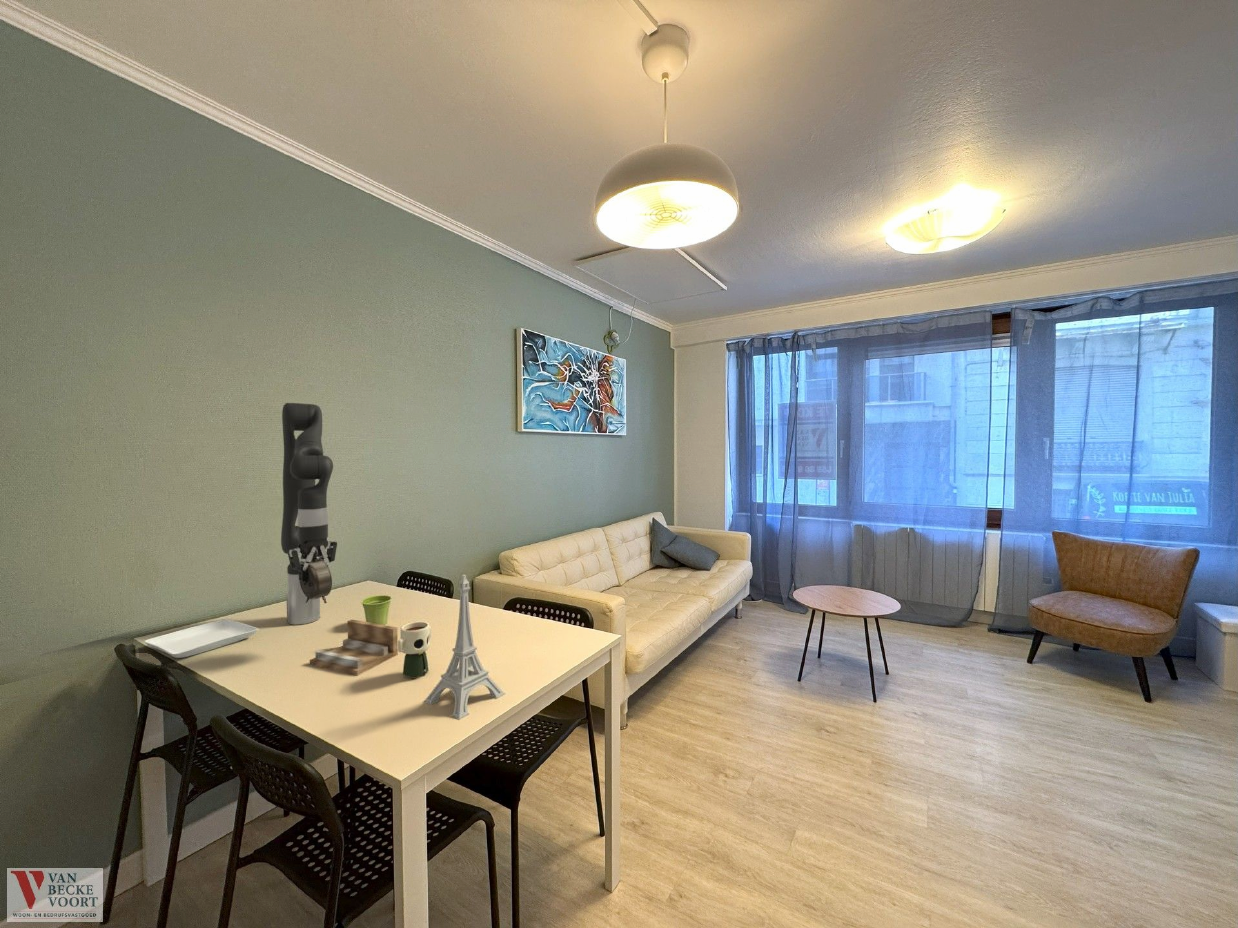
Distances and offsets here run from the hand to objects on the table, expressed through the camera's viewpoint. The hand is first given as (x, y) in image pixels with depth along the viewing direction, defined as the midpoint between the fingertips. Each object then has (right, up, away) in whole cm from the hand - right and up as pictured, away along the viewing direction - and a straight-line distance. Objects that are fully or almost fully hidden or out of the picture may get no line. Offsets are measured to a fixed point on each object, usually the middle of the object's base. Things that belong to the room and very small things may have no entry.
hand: (313, 579), depth 140 cm
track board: (+15, -21, -6) cm, 27 cm away
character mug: (+36, -22, -14) cm, 45 cm away
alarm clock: (0, -7, 0) cm, 7 cm away
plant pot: (+8, -21, +21) cm, 31 cm away
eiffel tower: (+53, -23, -26) cm, 63 cm away
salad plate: (-38, -22, +6) cm, 44 cm away
